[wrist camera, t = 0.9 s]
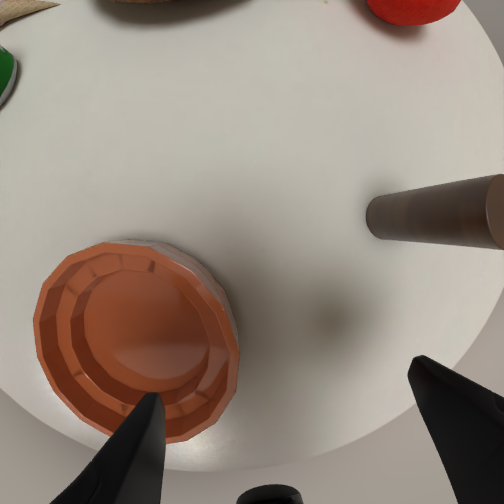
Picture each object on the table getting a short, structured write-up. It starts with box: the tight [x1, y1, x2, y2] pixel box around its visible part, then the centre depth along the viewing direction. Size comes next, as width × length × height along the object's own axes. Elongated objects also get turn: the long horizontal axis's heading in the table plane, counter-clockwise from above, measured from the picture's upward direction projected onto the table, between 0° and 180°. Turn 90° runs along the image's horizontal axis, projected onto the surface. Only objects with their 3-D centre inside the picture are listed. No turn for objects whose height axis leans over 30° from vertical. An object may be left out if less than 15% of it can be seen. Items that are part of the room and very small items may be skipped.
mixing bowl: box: [33, 240, 240, 444], centre depth 19 cm, size 14×14×6 cm
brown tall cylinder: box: [366, 174, 504, 250], centre depth 17 cm, size 4×4×13 cm
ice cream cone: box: [0, 0, 60, 26], centre depth 16 cm, size 5×5×15 cm
